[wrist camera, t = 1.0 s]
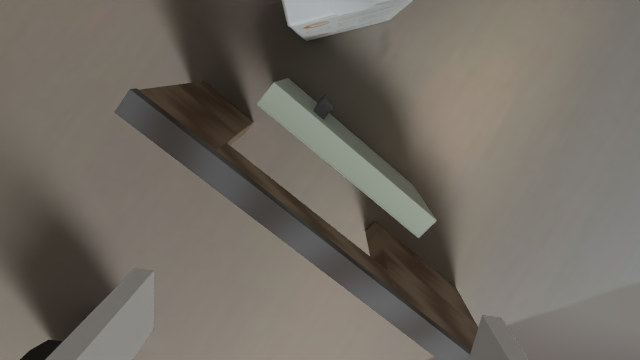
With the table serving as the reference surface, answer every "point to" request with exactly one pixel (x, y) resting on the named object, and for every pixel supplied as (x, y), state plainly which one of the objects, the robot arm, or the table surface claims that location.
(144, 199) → the table surface
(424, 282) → the wall frame
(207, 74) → the table surface
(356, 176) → the sliding door
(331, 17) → the small box
